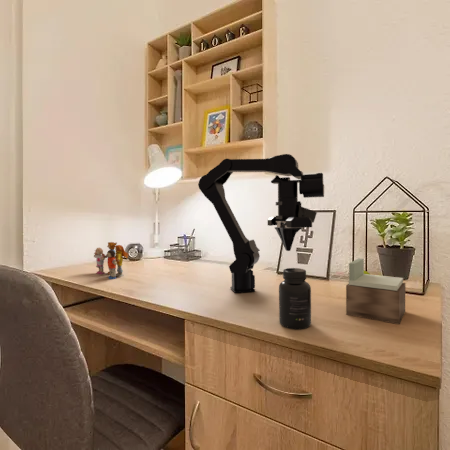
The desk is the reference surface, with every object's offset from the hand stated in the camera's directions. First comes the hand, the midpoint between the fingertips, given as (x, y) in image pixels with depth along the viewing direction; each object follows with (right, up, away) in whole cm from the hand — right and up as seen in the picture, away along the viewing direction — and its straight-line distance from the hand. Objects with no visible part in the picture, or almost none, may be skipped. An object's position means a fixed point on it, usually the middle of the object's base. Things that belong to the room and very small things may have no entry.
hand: (288, 250), depth 90 cm
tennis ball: (+23, -13, +2) cm, 26 cm away
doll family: (-65, -13, +34) cm, 74 cm away
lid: (+17, -6, -18) cm, 26 cm away
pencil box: (+17, -13, -18) cm, 28 cm away
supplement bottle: (-4, -14, -24) cm, 28 cm away
